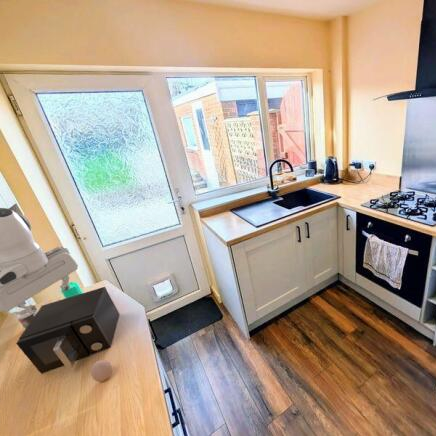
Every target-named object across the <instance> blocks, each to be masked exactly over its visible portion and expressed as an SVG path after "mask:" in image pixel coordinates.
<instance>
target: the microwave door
mask: <svg viewBox="0 0 436 436" xmlns="http://www.w3.org/2000/svg"><path fill="white" fill-rule="evenodd" d="M15 344H16V345H17V347H18V348H19V349H20V350H21V351H22V352H23V354H24V355H25V356H26V357H27V359H28V360H29V362H31V363H32V365H33V366H34V367H35V368H36V370H37V371H38V372H39V373H40V375H42V374H45V373H47V372H50V371H53V370H56V369H58V368H61V367H65V368H66V369H67V370H70V369H72V368H73V367H74V365H75V362H77V361H79V360H83V359H85V358H88V357H90V355H91V354H90V352H89V351H88V349H87V348H86V346H85V345H84V343H83V342H82V340H81V339H80V337H79V335H78V334H77V332H76V331H75V329H74V328H73V326H72V323H68V324H65V325H62V326H59V327H56V328H52V329H49V330H46V331H43V332H40V333H37V334H34V335H31V336H28V337H25V338H22V339H19V338H18V340H17V342H15Z"/></svg>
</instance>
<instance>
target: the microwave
mask: <svg viewBox="0 0 436 436" xmlns="http://www.w3.org/2000/svg"><path fill="white" fill-rule="evenodd" d="M36 312H37V314H36V315H35V316H34V318H33V319H32V321H31V322H30V324H29V325H28V326H27V328H26V329H25V328H24V331H23V332H22V333H21V335H20V336H19V338H18V340H19V339H22V338H25V337H28V336H31V335H34V334H37V333H40V332H43V331H46V330H49V329H52V328H56V327H59V326H62V325H65V324H68V323H72V326H73V328H74V329H75V331H76V332H77V334H78V335H79V337H80V339H81V340H82V342H83V343H84V345H85V346H86V348H87V349H88V351H89V352H90V355H94V354H96V353H99V352H102V351H105V350H108V349H110V348H111V347H112V345H113V341H114V338H115V334H116V331H117V327H118V323H119V319H120V315H121V314H120V312H119V310H118V309H117V307H116V305H115V303H114V301H113V299H112V297H111V295H110V293H109V291H108V290H107V287H105V286H103V287H99V288H96V289H92V290H89V291H86V292H83V293H82V294H79V295H76V296H72V297H69V298H61V299H59V300H56V301H53V302H49V303H46V304H42V305H41V306H40V308H39V309H38V310H37V311H36Z"/></svg>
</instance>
